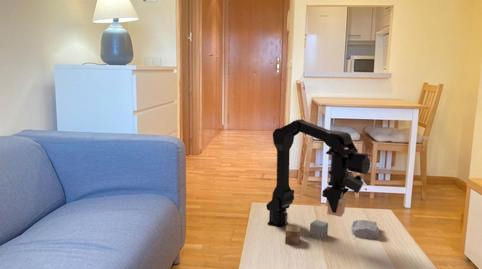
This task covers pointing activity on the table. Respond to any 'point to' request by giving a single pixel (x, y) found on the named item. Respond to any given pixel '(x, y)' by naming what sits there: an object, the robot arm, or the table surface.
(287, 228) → the walnut cube
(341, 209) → the terracotta cube
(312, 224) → the slate grey cube
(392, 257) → the table surface
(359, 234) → the stone block
